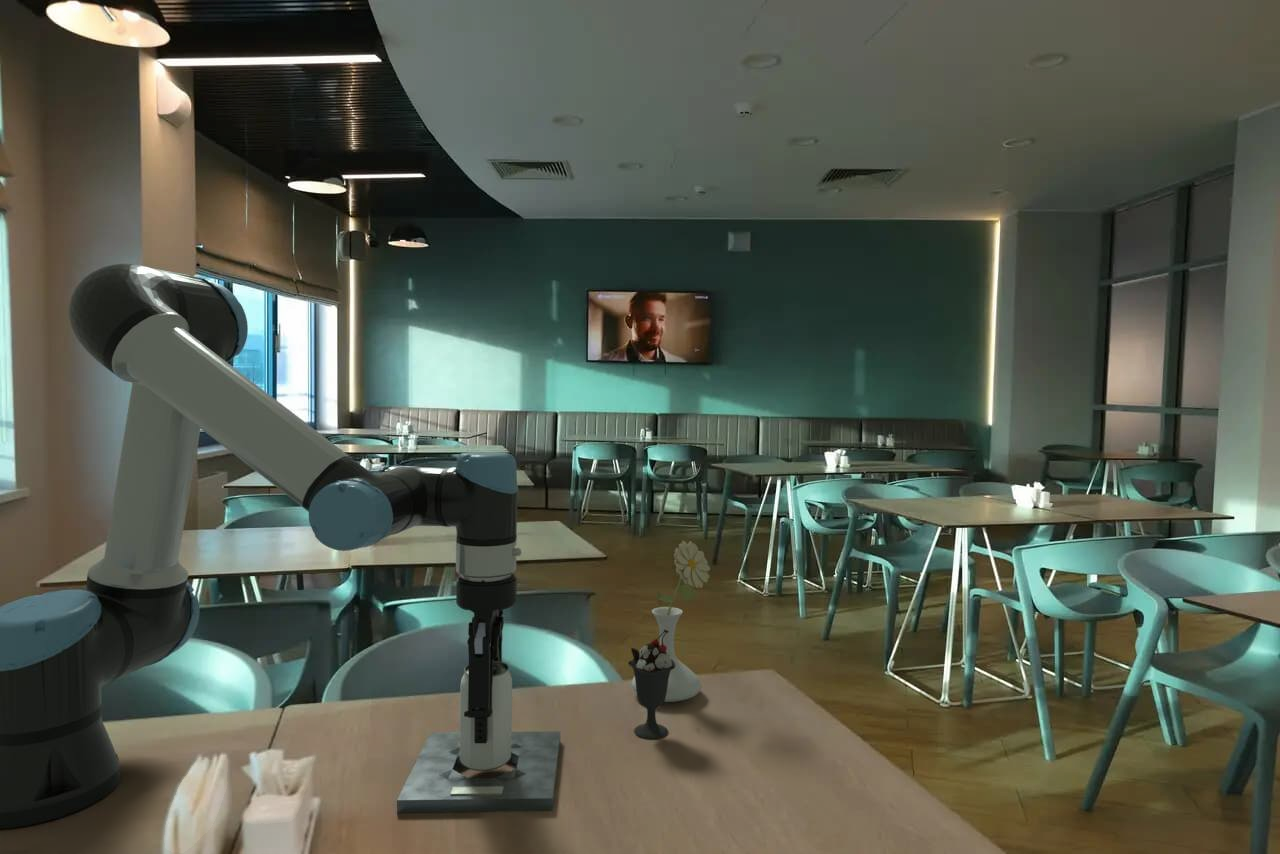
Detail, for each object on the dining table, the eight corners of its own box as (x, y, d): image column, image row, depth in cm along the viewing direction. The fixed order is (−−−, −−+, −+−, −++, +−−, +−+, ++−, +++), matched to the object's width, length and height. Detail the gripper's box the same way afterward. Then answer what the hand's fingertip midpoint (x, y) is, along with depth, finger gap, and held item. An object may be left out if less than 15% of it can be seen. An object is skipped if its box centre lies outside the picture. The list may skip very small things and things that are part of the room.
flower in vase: (651, 714, 120) (654, 552, 119) (619, 688, 130) (620, 538, 129) (723, 699, 126) (726, 545, 125) (686, 676, 136) (689, 533, 135)
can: (516, 749, 104) (517, 660, 103) (503, 774, 97) (504, 679, 96) (468, 746, 104) (469, 657, 103) (452, 770, 98) (453, 676, 97)
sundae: (683, 734, 113) (685, 631, 112) (645, 746, 109) (646, 639, 109) (657, 718, 119) (658, 620, 118) (619, 728, 115) (620, 627, 114)
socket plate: (396, 812, 91) (396, 798, 91) (430, 742, 109) (430, 731, 109) (552, 810, 92) (552, 796, 92) (560, 741, 110) (560, 729, 110)
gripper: (507, 593, 90) (506, 790, 92) (523, 558, 109) (522, 721, 110) (441, 593, 90) (441, 790, 91) (469, 558, 109) (468, 722, 110)
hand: (485, 752), depth 101 cm, fingers closed on can, 6 cm apart
